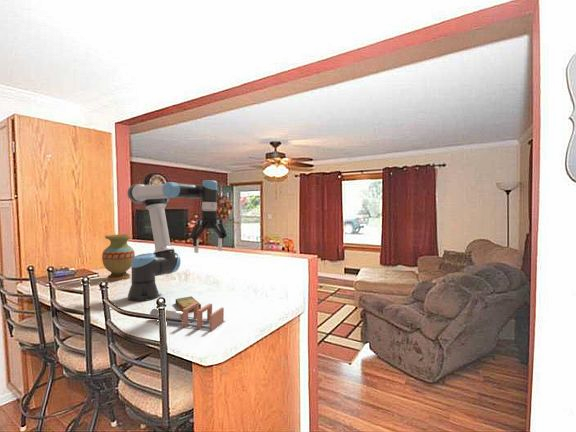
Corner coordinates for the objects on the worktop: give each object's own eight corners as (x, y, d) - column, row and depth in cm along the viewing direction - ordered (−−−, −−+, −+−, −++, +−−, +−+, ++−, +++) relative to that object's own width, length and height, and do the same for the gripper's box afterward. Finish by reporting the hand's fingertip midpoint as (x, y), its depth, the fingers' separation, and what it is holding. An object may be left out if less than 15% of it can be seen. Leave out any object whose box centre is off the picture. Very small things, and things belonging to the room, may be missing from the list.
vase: (116, 282, 197) (116, 237, 196) (95, 280, 204) (95, 235, 203) (141, 276, 215) (141, 234, 215) (120, 274, 222) (120, 233, 222)
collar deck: (154, 327, 124) (154, 307, 124) (172, 317, 136) (172, 299, 136) (211, 334, 118) (211, 313, 117) (225, 323, 129) (225, 304, 129)
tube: (149, 319, 129) (149, 310, 129) (156, 316, 133) (156, 307, 133) (182, 323, 125) (182, 314, 125) (188, 320, 129) (188, 311, 129)
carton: (183, 316, 138) (183, 306, 138) (175, 306, 152) (174, 298, 152) (201, 312, 143) (201, 303, 143) (191, 303, 156) (191, 295, 156)
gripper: (189, 210, 144) (189, 254, 145) (233, 211, 161) (232, 250, 162) (182, 209, 149) (182, 252, 150) (226, 210, 167) (225, 248, 167)
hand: (208, 251), depth 156 cm, fingers open, 13 cm apart
